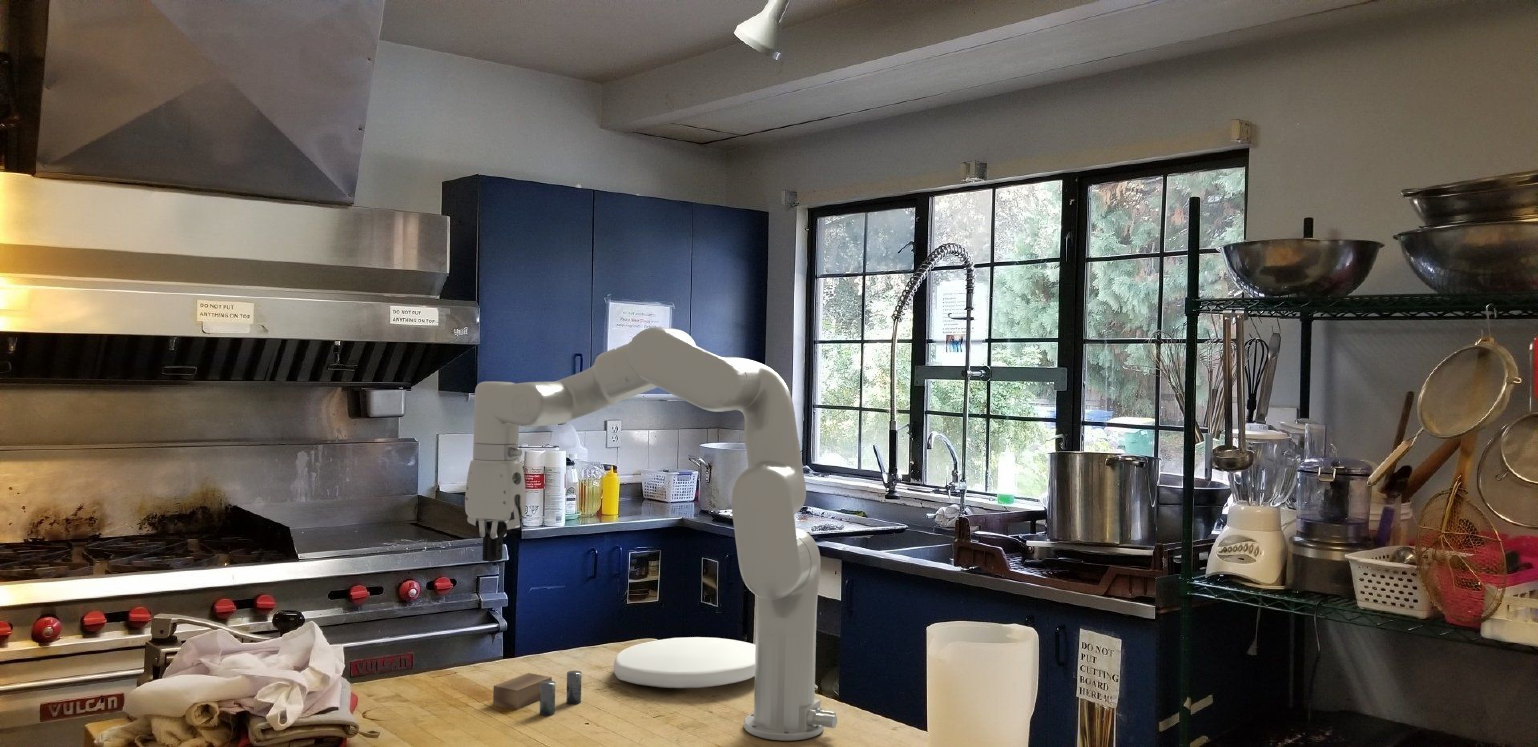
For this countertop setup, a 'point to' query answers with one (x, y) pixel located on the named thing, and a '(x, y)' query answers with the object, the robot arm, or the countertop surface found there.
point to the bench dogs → (549, 693)
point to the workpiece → (518, 691)
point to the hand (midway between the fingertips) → (492, 559)
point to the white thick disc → (686, 662)
